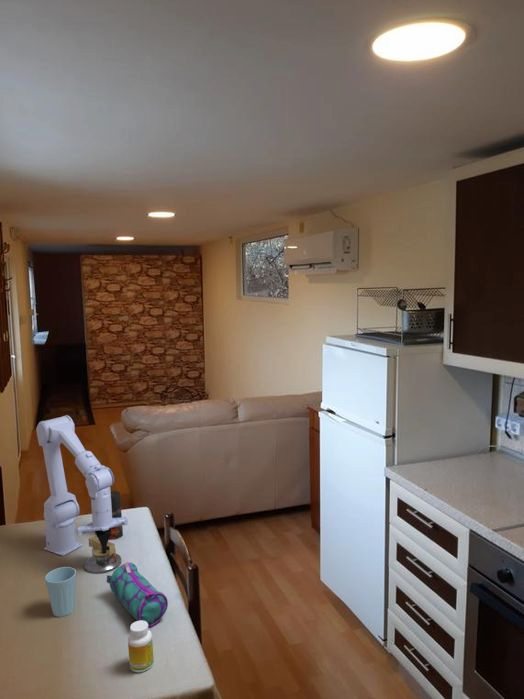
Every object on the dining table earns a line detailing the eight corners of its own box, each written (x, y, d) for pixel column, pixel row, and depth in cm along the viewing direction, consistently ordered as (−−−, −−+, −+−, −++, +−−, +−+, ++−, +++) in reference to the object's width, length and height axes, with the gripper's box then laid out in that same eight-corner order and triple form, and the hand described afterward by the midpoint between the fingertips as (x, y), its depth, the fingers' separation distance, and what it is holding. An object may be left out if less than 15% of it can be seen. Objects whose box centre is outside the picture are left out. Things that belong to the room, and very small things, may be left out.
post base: (76, 567, 168) (75, 553, 168) (104, 551, 178) (103, 537, 177) (102, 577, 163) (100, 562, 162) (128, 560, 172) (127, 545, 171)
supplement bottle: (152, 672, 123) (149, 632, 122) (127, 674, 123) (125, 634, 121) (155, 655, 128) (152, 617, 127) (131, 657, 128) (129, 619, 127)
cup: (79, 599, 152) (76, 564, 150) (78, 616, 144) (75, 579, 143) (50, 605, 149) (46, 569, 148) (47, 622, 142) (44, 584, 141)
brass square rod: (104, 561, 164) (104, 549, 164) (83, 552, 170) (83, 541, 169) (120, 552, 169) (119, 541, 168) (99, 543, 175) (98, 533, 174)
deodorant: (125, 531, 191) (122, 490, 189) (119, 540, 185) (116, 497, 183) (109, 531, 192) (105, 490, 190) (102, 539, 186) (99, 497, 184)
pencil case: (107, 597, 152) (105, 565, 151) (137, 586, 158) (135, 554, 156) (139, 635, 136) (136, 599, 134) (171, 621, 141) (169, 586, 140)
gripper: (78, 519, 157) (82, 564, 159) (129, 508, 164) (131, 551, 166) (74, 510, 163) (77, 553, 165) (123, 500, 170) (125, 542, 172)
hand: (104, 552), depth 166 cm, fingers closed, pressing on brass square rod
